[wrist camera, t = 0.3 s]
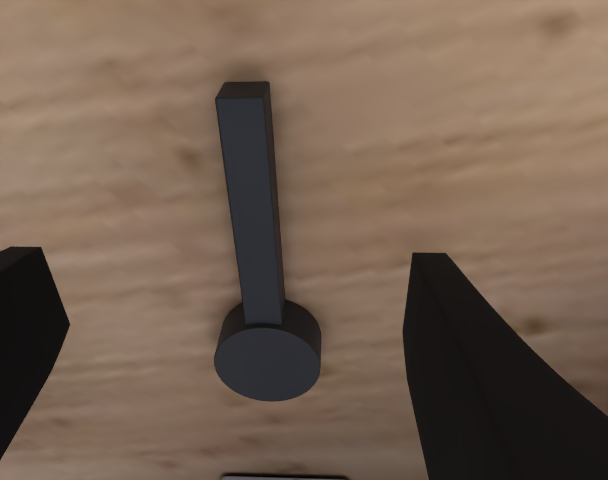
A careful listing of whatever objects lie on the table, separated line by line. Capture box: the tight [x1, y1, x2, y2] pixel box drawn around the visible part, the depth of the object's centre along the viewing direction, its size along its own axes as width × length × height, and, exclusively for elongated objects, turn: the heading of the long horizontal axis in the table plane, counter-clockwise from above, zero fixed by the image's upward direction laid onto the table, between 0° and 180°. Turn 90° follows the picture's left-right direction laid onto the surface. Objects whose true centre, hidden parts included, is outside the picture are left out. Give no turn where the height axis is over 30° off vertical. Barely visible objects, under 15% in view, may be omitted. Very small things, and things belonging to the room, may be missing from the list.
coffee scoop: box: [214, 82, 321, 401], centre depth 21 cm, size 15×5×2 cm, turn 2°
